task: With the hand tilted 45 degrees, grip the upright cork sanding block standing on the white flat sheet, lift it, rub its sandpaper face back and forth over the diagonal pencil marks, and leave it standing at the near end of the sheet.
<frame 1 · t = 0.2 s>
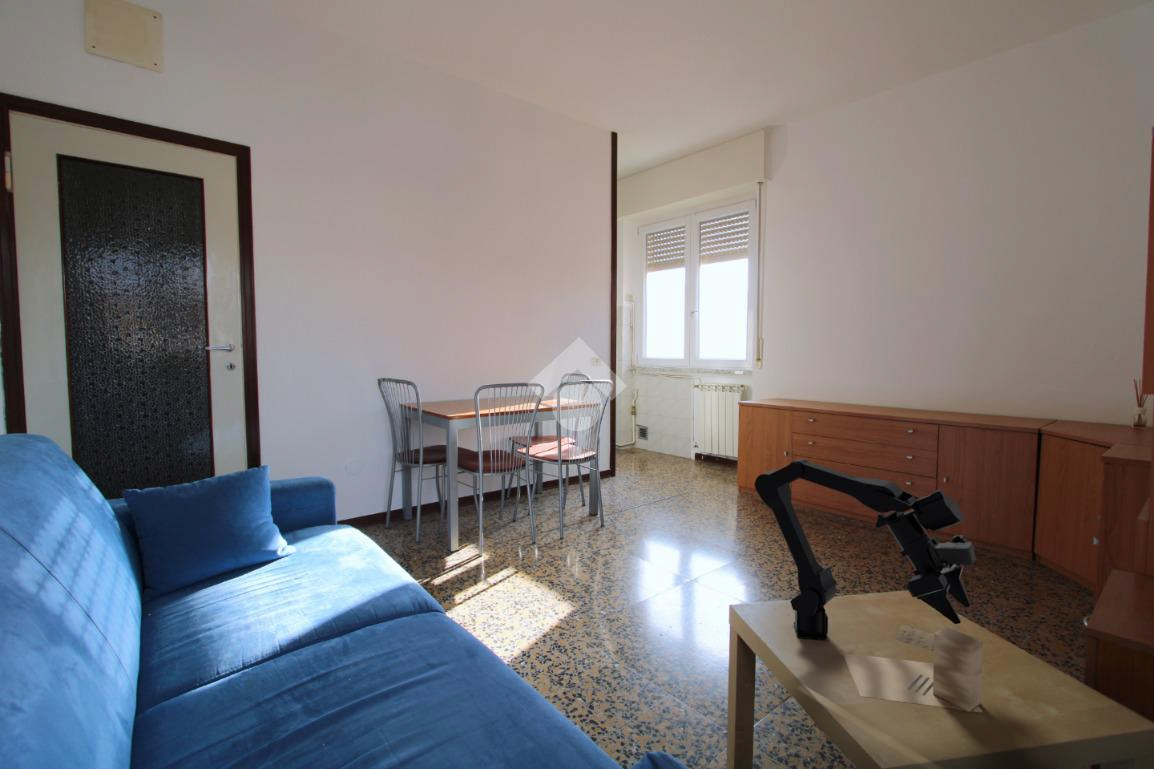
hand: (963, 614, 104), 15 cm above the table, tool tilted 35°, fingers open, 9 cm apart
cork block: (956, 699, 99), point 1 cm above the table, touching white flat sheet
clay tablet: (924, 648, 120), on the table
white flat sheet: (906, 685, 105), on the table
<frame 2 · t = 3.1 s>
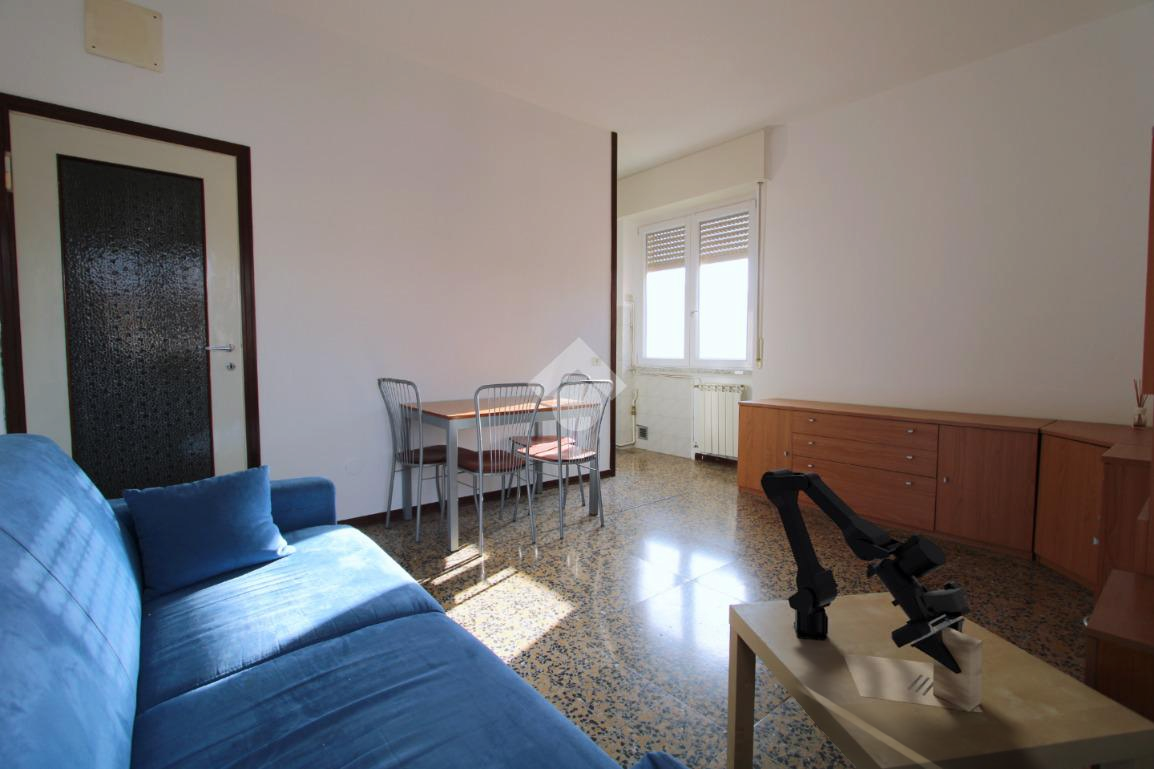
hand: (965, 669, 98), 8 cm above the table, tool tilted 45°, fingers closed on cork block, 4 cm apart
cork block: (956, 699, 99), point 1 cm above the table, touching gripper, white flat sheet
everything else where it was.
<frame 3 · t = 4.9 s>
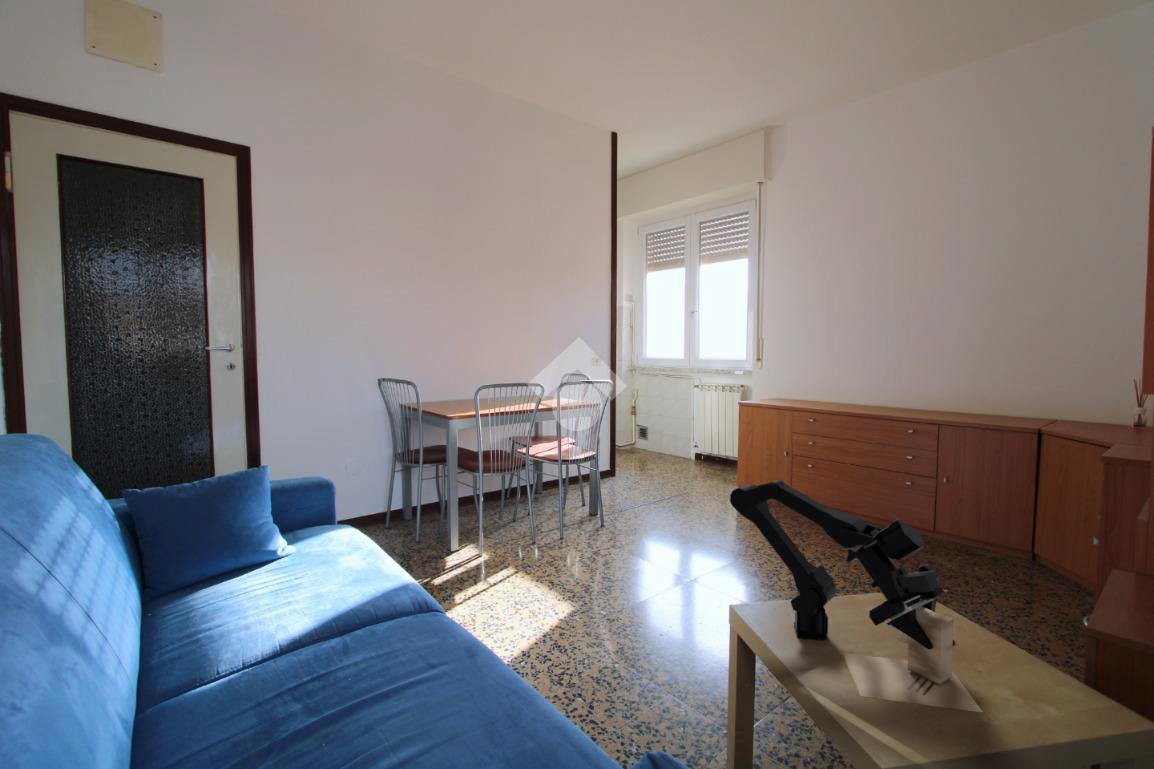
hand: (937, 645, 105), 8 cm above the table, tool tilted 45°, fingers closed on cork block, 4 cm apart
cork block: (929, 673, 107), point 2 cm above the table, touching gripper
everything else where it was.
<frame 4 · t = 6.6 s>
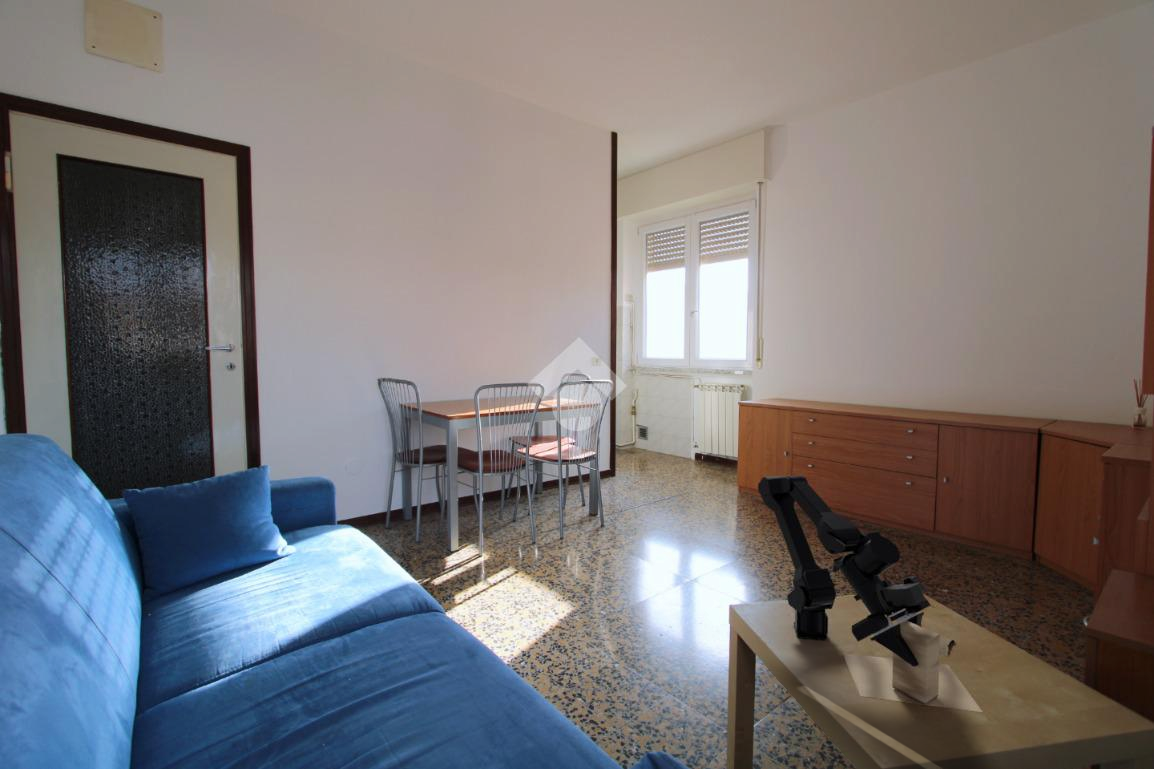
hand: (923, 661, 100), 8 cm above the table, tool tilted 45°, fingers closed on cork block, 4 cm apart
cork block: (915, 691, 101), point 2 cm above the table, touching gripper
everything else where it was.
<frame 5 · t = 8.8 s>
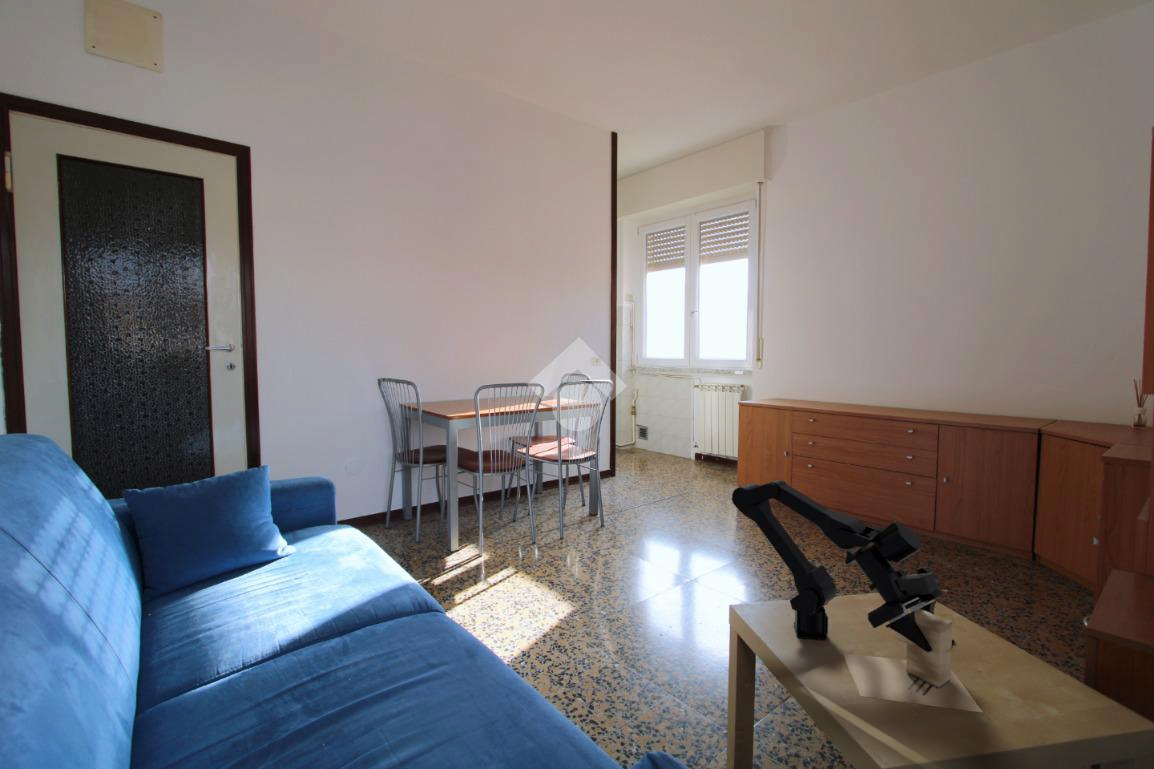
hand: (936, 647, 104), 8 cm above the table, tool tilted 45°, fingers closed on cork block, 4 cm apart
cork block: (928, 676, 106), point 1 cm above the table, touching gripper
everything else where it was.
when the fingers open (8 cm above the table, at t = 10.4 s): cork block stays where it is, resting on white flat sheet.
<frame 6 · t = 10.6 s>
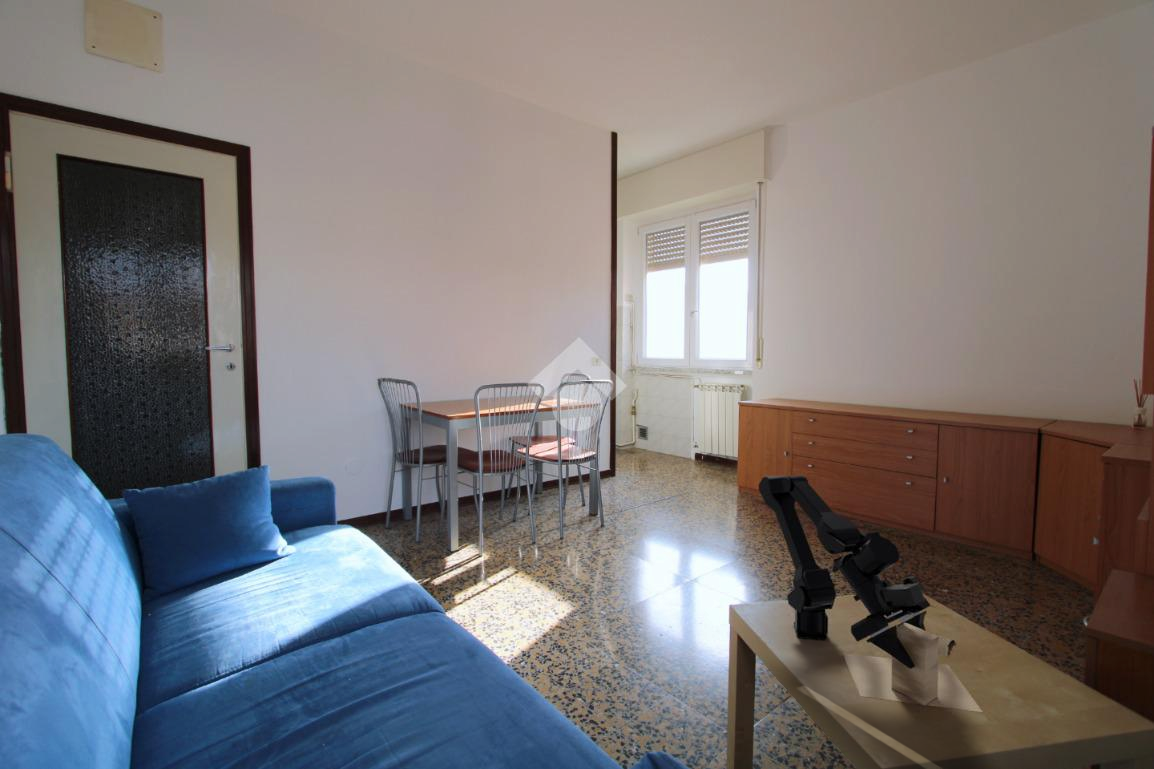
hand: (922, 662, 99), 8 cm above the table, tool tilted 45°, fingers open, 7 cm apart
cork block: (914, 693, 101), point 1 cm above the table, touching white flat sheet
everything else where it was.
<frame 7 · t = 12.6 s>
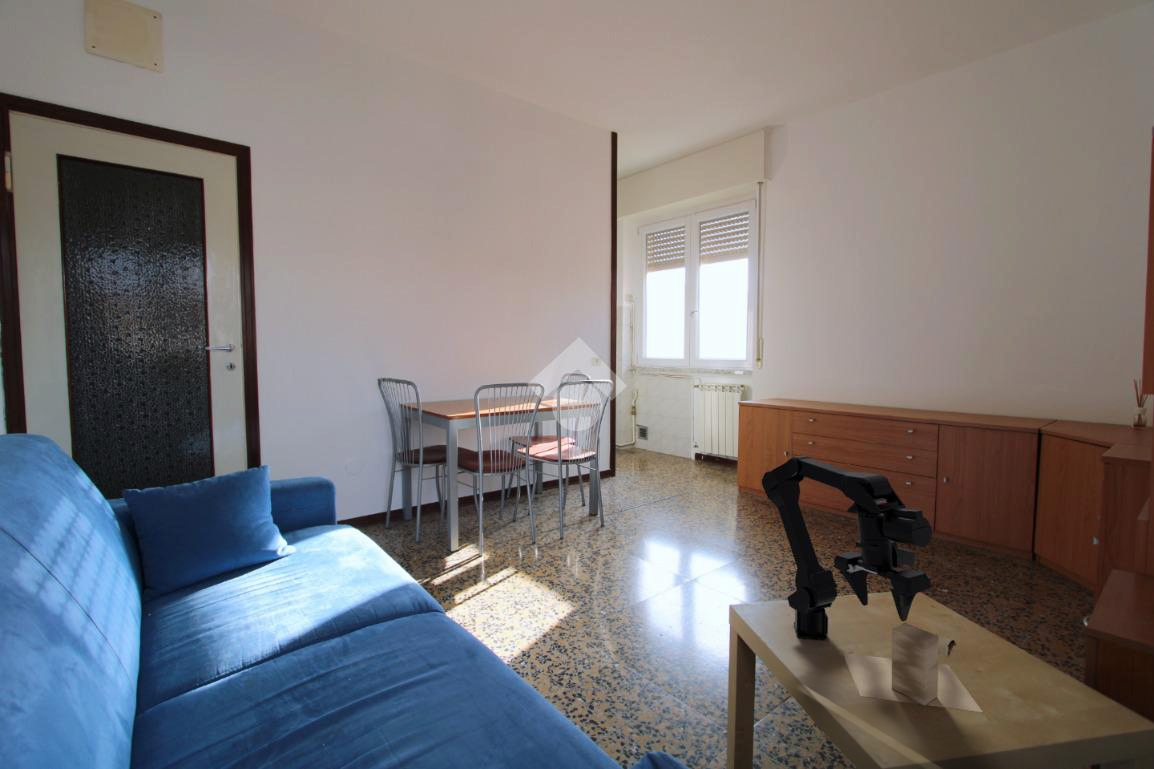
hand: (883, 612, 109), 13 cm above the table, tool pointing down, fingers open, 9 cm apart
nothing on the table moved.
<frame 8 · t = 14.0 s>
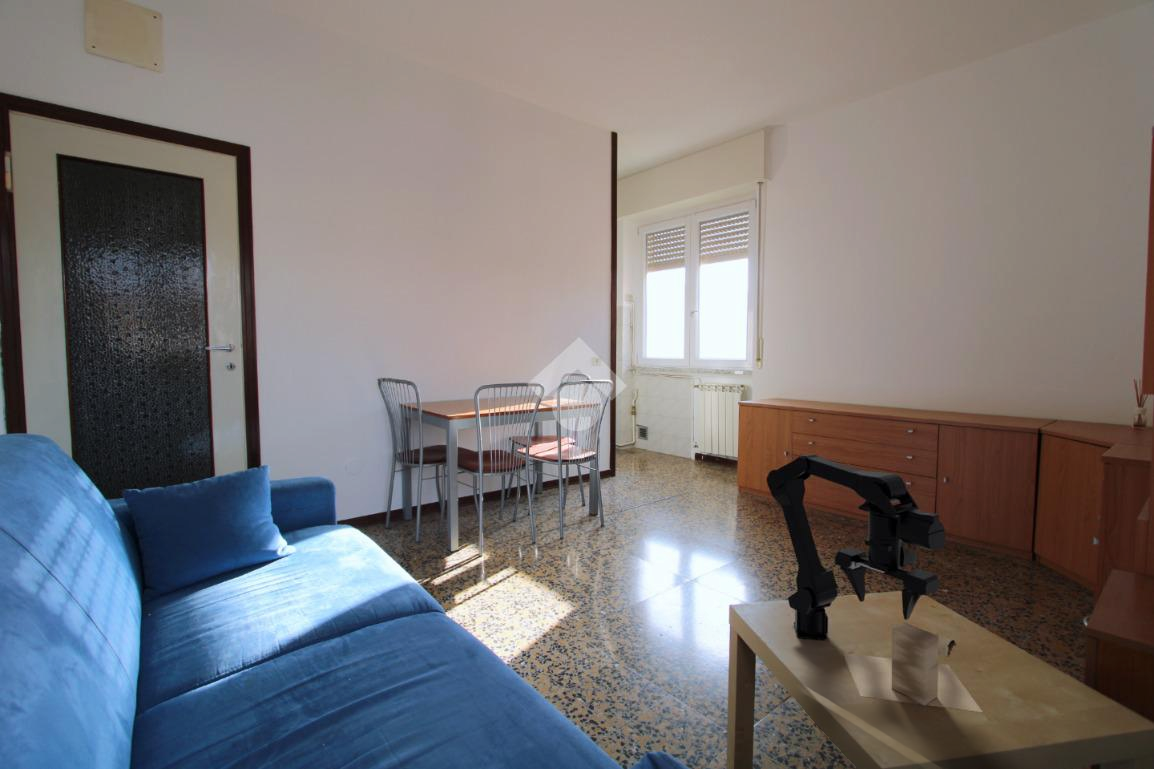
hand: (883, 609, 110), 13 cm above the table, tool pointing down, fingers open, 9 cm apart
nothing on the table moved.
at the end: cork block inside the target area (0.1 cm from its centre), point 1.2 cm above the table; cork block tilted 1°; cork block moved 7.0 cm from its start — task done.
